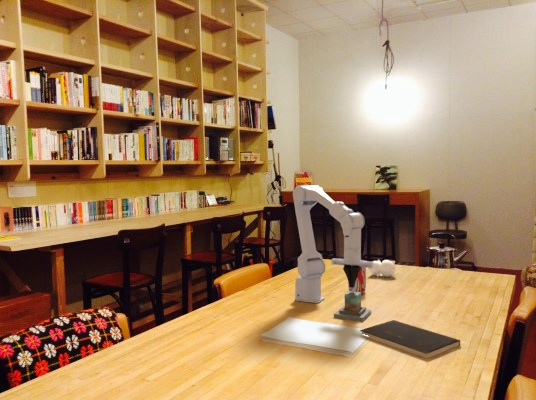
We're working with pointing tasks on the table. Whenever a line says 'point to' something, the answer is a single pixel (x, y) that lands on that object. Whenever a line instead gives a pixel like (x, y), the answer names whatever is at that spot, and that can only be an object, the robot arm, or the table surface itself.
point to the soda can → (360, 281)
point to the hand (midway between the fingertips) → (352, 286)
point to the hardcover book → (411, 338)
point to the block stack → (353, 301)
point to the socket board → (353, 314)
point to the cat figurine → (383, 268)
